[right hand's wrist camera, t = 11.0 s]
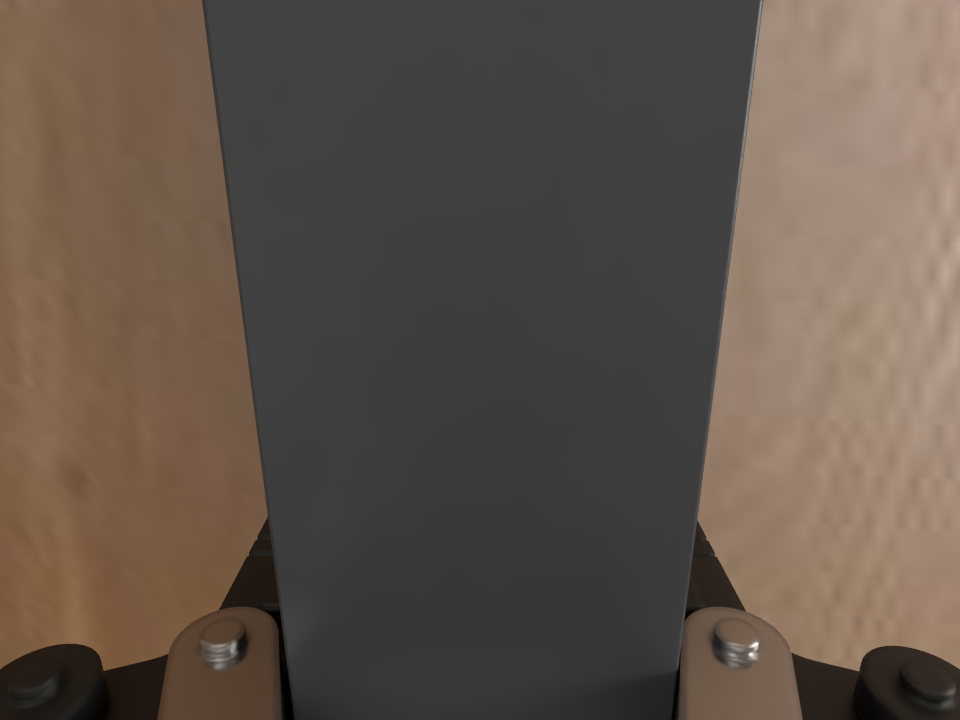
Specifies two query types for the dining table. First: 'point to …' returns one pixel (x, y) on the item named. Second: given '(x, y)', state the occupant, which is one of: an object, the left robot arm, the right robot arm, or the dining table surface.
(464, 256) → the bar
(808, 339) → the dining table surface
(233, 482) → the dining table surface
